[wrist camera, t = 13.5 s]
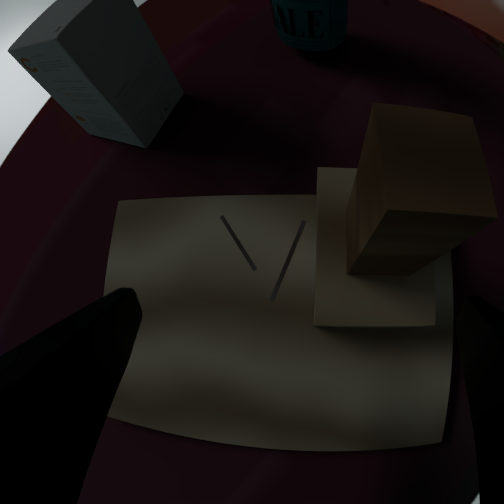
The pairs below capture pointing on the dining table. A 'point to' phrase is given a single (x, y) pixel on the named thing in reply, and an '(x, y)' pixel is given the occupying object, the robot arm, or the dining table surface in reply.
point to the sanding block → (397, 217)
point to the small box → (101, 68)
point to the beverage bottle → (311, 23)
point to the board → (265, 334)
